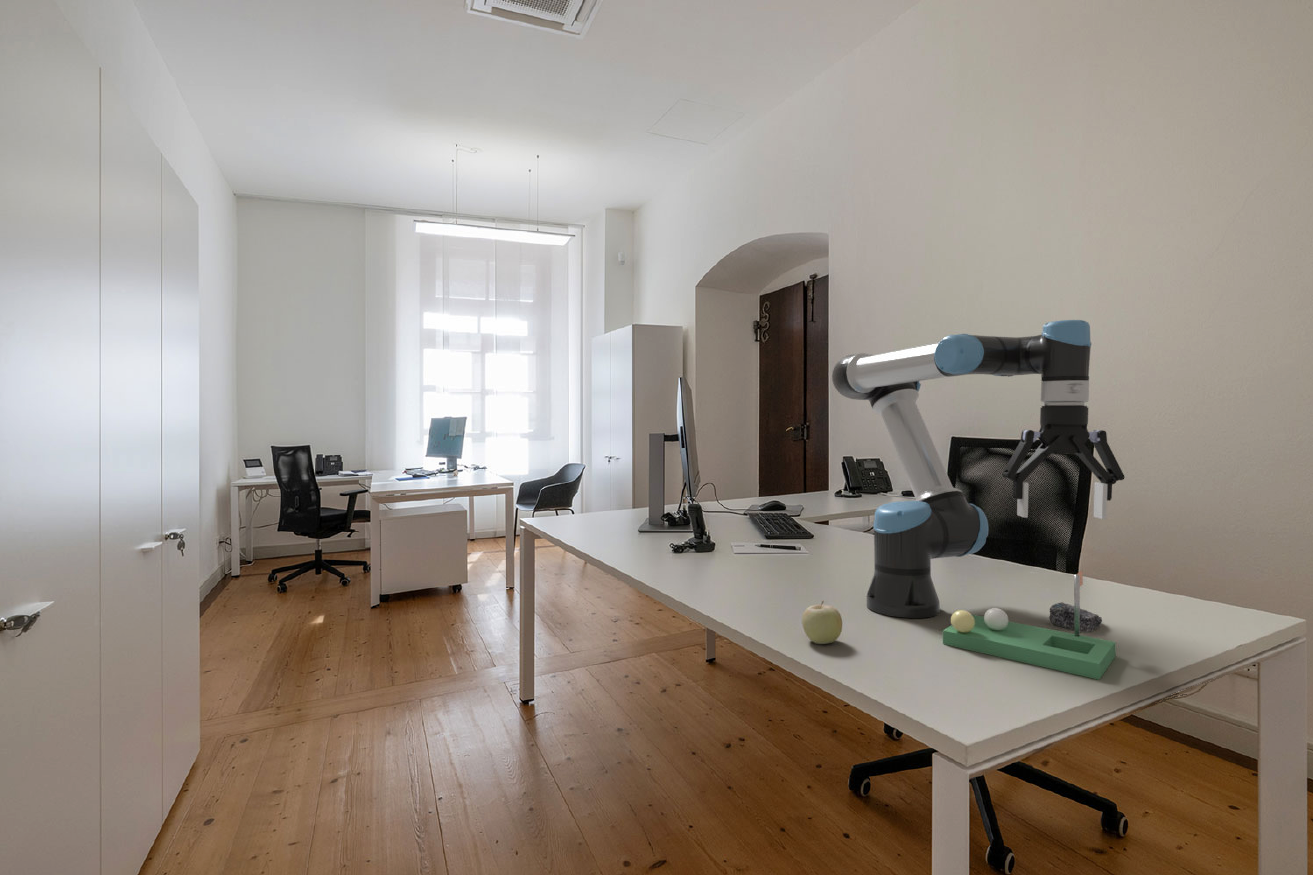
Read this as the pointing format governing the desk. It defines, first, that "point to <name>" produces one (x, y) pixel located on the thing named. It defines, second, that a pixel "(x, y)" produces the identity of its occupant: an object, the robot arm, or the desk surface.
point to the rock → (1065, 617)
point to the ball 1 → (962, 621)
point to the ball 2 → (996, 619)
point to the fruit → (822, 623)
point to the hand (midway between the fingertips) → (1060, 517)
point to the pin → (1077, 602)
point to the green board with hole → (1037, 647)
